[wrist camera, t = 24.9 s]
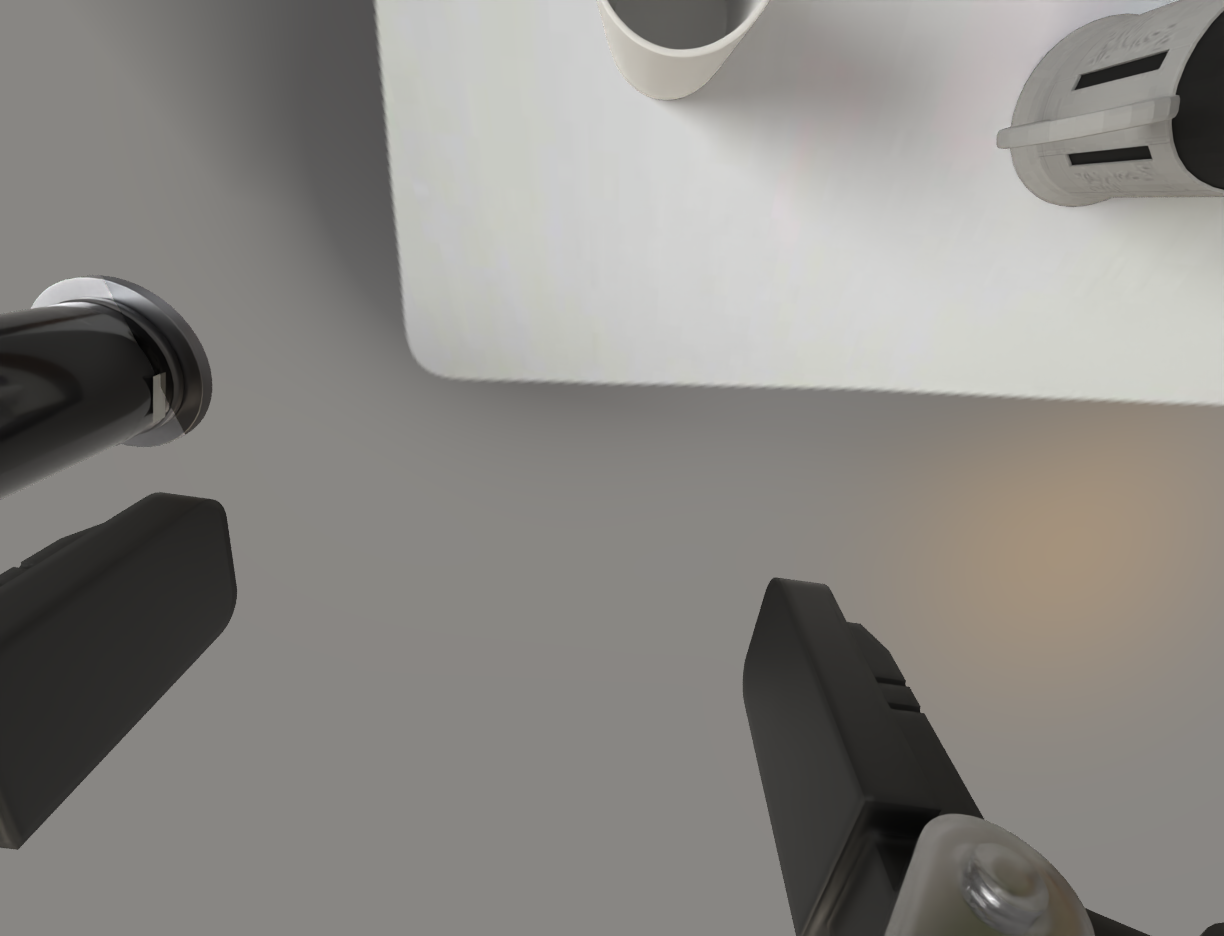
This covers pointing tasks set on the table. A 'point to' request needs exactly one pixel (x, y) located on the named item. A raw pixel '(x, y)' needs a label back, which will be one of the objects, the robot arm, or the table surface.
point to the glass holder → (1126, 109)
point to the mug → (674, 40)
